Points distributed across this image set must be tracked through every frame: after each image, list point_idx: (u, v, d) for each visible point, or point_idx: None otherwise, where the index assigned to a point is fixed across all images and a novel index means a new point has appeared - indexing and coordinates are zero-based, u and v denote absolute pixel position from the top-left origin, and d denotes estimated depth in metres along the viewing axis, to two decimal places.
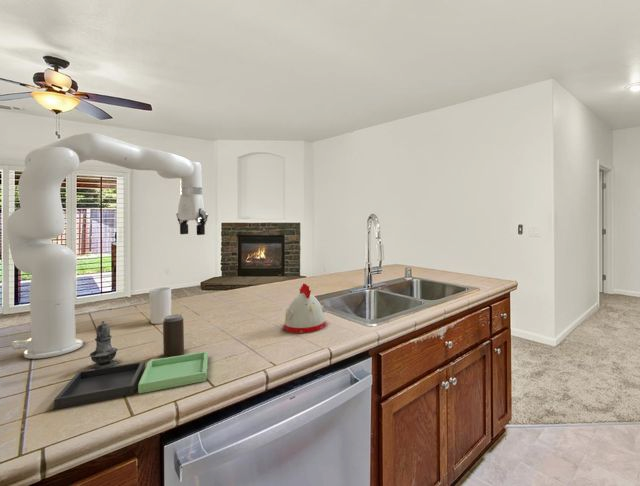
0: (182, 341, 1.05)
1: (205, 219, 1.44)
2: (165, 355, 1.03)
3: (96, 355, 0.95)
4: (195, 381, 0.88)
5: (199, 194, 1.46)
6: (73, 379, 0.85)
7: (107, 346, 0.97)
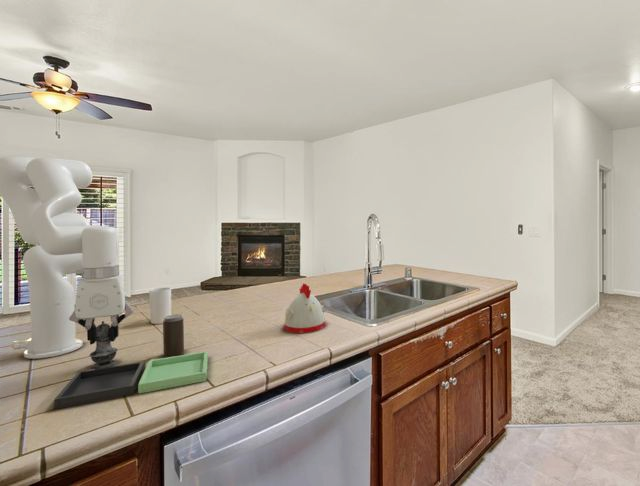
0: (182, 341, 1.05)
1: None
2: (165, 355, 1.03)
3: (96, 355, 0.95)
4: (195, 381, 0.88)
5: None
6: (73, 379, 0.85)
7: (107, 346, 0.97)
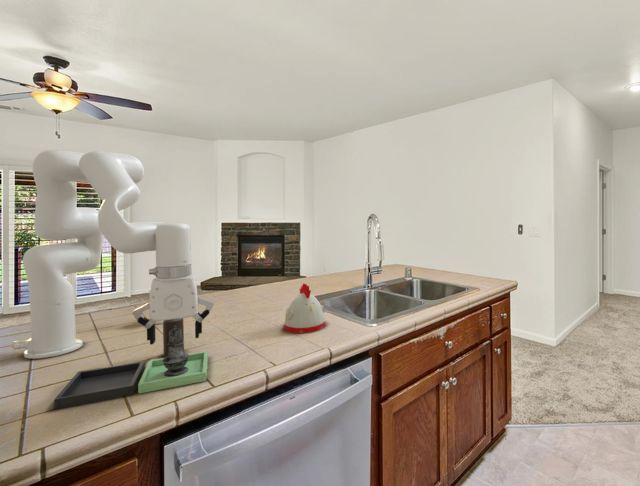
0: None
1: (209, 311, 0.95)
2: (165, 355, 1.03)
3: (170, 362, 0.90)
4: (195, 381, 0.88)
5: None
6: (73, 379, 0.85)
7: (180, 352, 0.92)
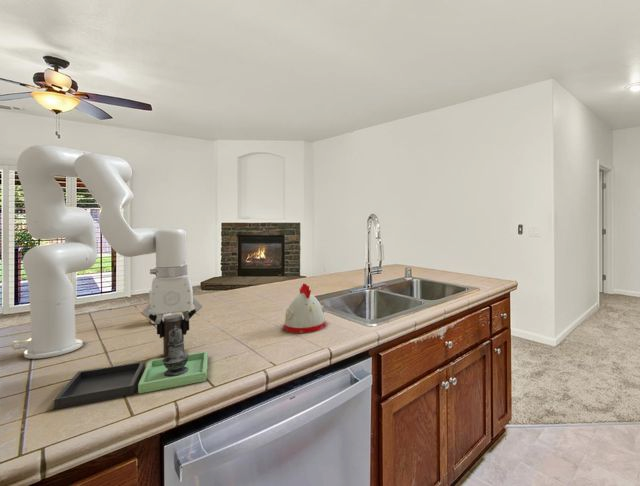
0: None
1: None
2: (165, 355, 1.03)
3: (170, 362, 0.90)
4: (195, 381, 0.88)
5: None
6: (73, 379, 0.85)
7: (180, 352, 0.92)
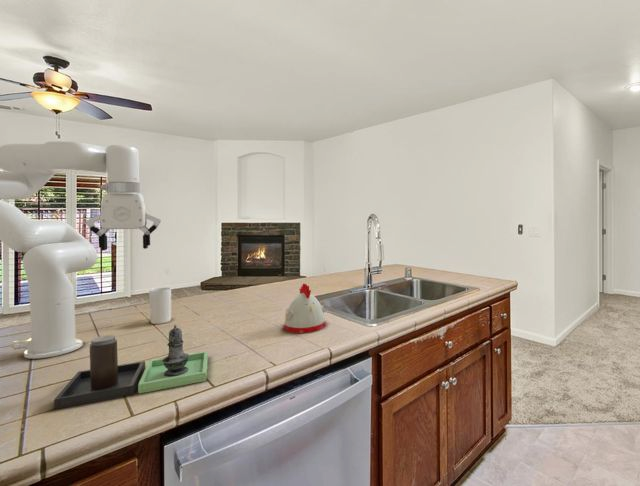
0: (115, 369, 0.86)
1: (157, 226, 1.08)
2: (92, 386, 0.83)
3: (170, 362, 0.90)
4: (195, 381, 0.88)
5: (139, 193, 1.06)
6: (73, 379, 0.85)
7: (180, 352, 0.92)
